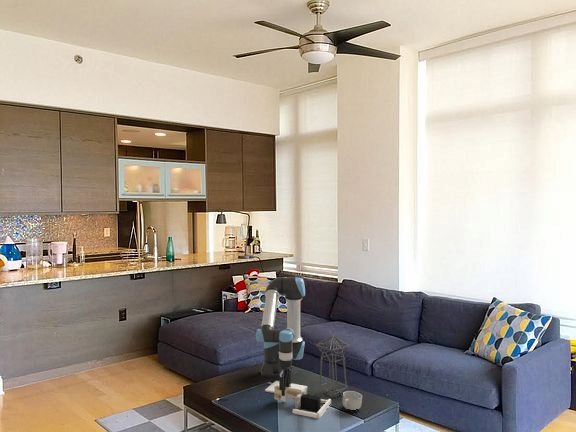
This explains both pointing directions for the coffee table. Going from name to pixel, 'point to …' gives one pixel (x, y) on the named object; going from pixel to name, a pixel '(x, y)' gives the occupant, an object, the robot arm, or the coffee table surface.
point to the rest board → (294, 386)
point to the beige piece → (290, 394)
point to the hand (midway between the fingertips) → (285, 399)
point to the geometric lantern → (332, 361)
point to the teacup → (352, 400)
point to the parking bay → (314, 415)
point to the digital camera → (310, 403)
